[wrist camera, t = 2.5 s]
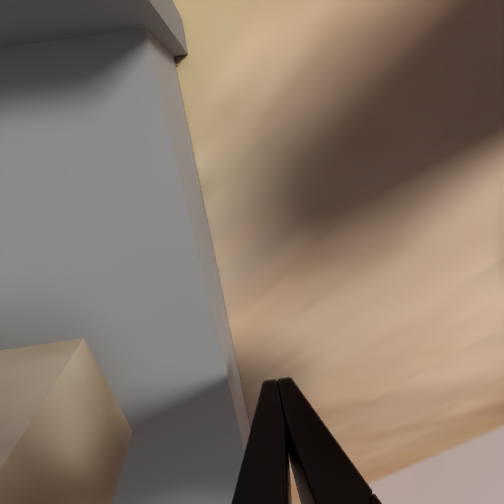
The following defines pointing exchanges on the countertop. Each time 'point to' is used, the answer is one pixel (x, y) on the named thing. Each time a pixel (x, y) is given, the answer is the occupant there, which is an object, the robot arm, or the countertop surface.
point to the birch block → (58, 427)
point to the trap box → (118, 235)
